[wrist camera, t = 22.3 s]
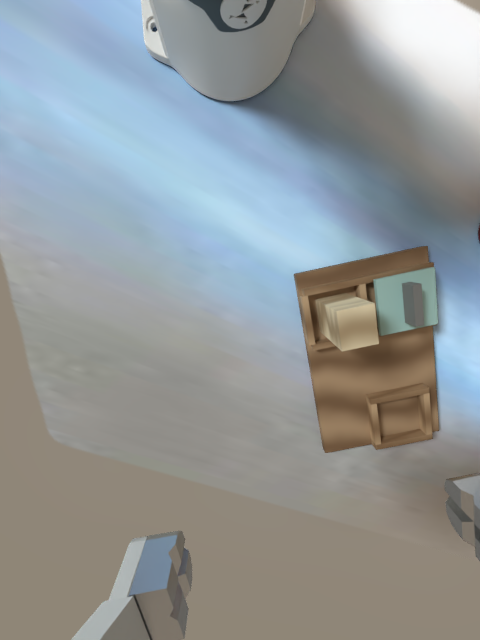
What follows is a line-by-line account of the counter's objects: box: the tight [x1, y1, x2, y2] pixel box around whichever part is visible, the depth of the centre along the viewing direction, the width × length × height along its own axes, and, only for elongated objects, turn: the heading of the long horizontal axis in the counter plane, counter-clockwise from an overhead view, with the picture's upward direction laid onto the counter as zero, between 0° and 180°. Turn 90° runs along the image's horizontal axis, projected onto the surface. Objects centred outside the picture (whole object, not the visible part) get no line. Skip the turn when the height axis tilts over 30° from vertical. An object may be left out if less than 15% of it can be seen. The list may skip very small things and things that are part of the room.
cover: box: [373, 267, 438, 336], centre depth 35 cm, size 7×7×3 cm
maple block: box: [315, 293, 379, 351], centre depth 34 cm, size 4×4×8 cm
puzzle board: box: [294, 246, 439, 453], centre depth 40 cm, size 27×17×3 cm, turn 12°
